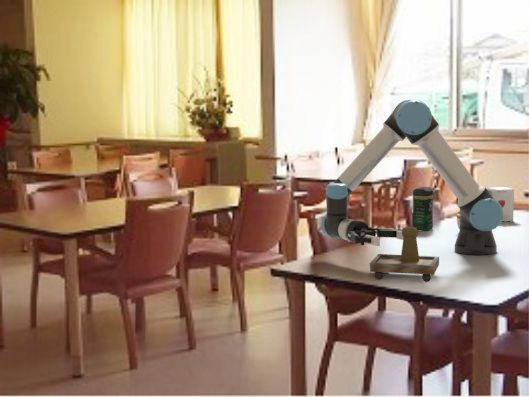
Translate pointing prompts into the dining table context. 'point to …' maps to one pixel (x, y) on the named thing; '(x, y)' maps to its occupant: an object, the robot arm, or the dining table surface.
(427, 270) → the cart
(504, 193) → the supplement box
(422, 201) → the coffee jar
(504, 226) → the dining table surface
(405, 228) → the cork
